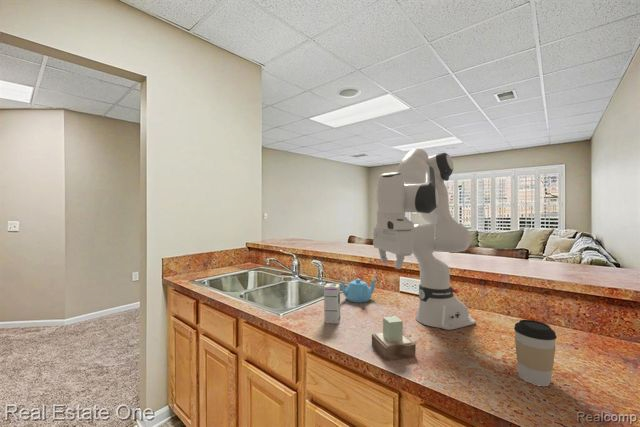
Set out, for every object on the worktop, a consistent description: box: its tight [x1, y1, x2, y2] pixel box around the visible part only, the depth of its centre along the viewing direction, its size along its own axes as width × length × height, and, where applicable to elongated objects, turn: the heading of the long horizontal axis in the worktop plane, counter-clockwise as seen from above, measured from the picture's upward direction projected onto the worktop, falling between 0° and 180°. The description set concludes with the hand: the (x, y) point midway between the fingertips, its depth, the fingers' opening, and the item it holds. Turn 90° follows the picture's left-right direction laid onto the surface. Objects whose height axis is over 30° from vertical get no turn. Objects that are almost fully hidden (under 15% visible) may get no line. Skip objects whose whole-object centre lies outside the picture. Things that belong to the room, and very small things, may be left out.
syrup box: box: [323, 282, 341, 325], centre depth 116 cm, size 6×6×14 cm
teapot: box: [339, 278, 378, 304], centre depth 143 cm, size 15×15×10 cm
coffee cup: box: [513, 319, 558, 386], centre depth 76 cm, size 9×9×15 cm
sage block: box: [382, 315, 404, 342], centre depth 92 cm, size 4×4×6 cm
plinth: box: [371, 332, 417, 361], centre depth 92 cm, size 10×10×4 cm
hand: (390, 265), depth 93 cm, fingers open, 8 cm apart
